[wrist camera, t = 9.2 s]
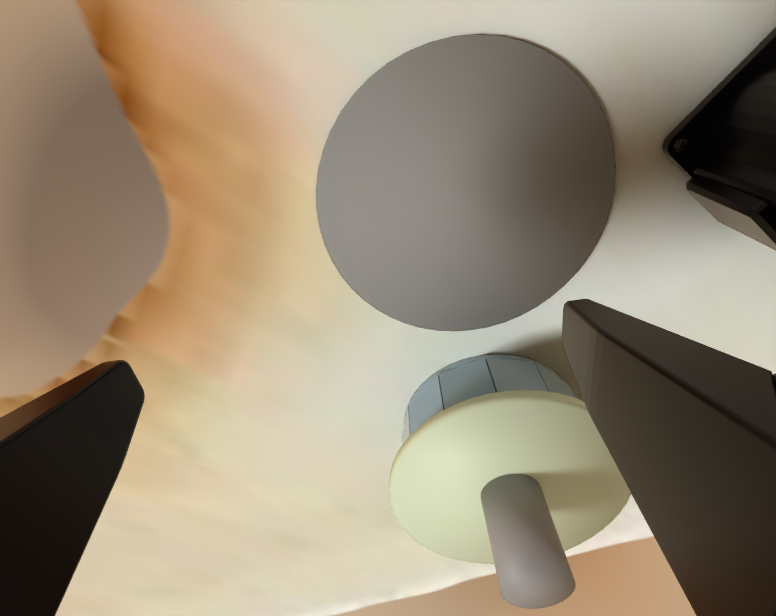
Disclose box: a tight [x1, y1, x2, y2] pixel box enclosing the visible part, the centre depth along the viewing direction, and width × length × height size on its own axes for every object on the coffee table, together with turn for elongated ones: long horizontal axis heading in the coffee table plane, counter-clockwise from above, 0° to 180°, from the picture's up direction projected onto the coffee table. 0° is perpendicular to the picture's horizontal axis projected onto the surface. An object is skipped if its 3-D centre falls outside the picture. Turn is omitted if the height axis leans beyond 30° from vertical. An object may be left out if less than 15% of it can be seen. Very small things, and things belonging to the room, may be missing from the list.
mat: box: [316, 34, 615, 331], centre depth 20 cm, size 13×13×1 cm
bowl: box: [402, 354, 577, 443], centre depth 25 cm, size 10×10×4 cm
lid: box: [390, 390, 631, 609], centre depth 20 cm, size 12×12×5 cm
